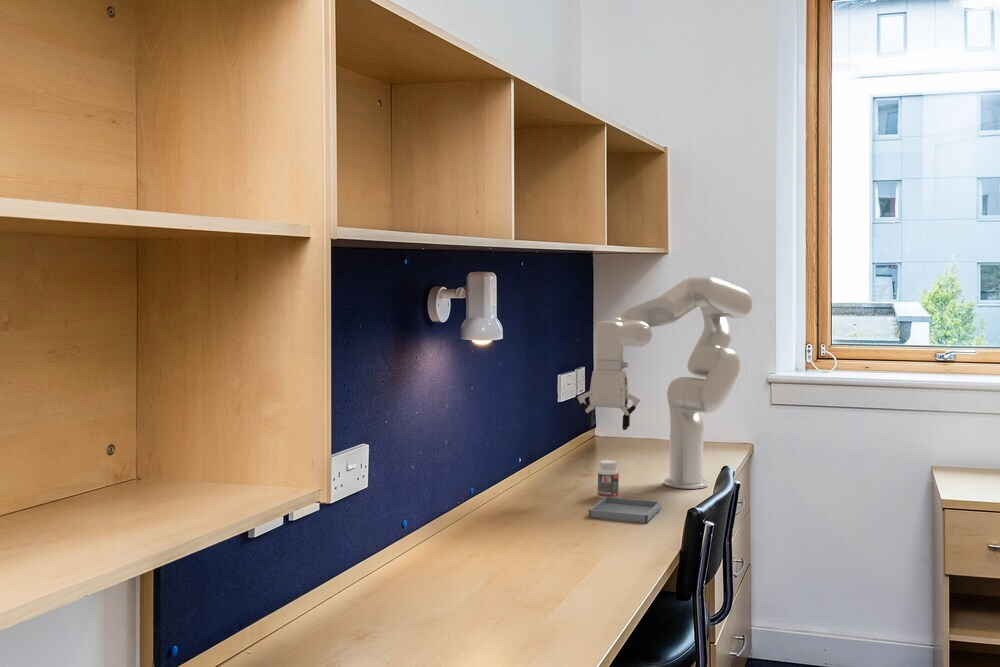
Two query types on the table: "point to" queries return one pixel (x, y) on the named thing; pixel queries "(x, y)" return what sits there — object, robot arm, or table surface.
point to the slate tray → (625, 509)
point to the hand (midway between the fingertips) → (608, 428)
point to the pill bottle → (608, 479)
